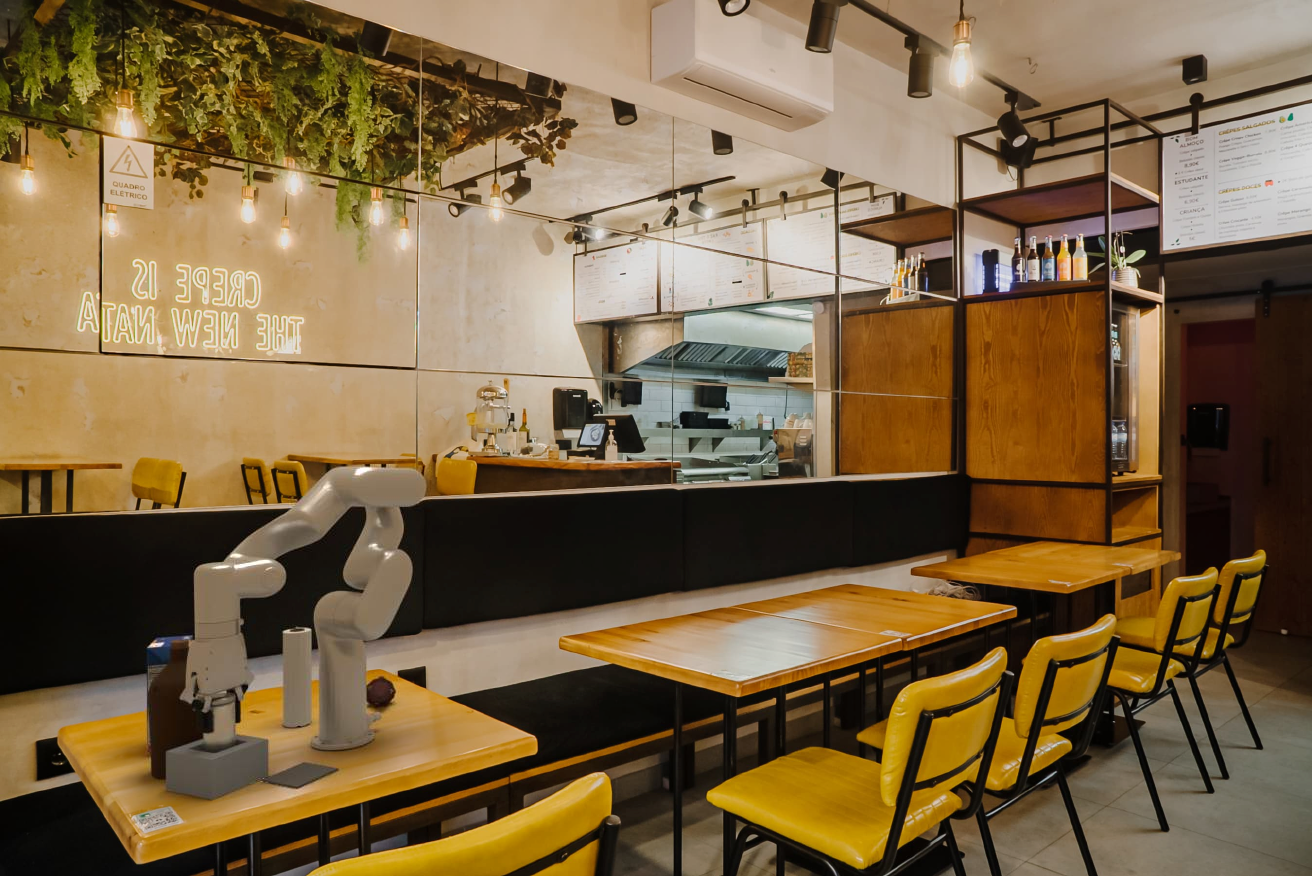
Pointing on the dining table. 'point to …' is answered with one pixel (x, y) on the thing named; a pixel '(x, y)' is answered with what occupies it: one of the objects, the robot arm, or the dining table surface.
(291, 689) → the paper towel roll
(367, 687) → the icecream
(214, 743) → the silver metallic cylinder
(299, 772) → the mat
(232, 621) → the robot arm
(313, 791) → the dining table surface
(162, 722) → the olive oil
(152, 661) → the beverage box
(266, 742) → the housing
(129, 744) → the dining table surface
